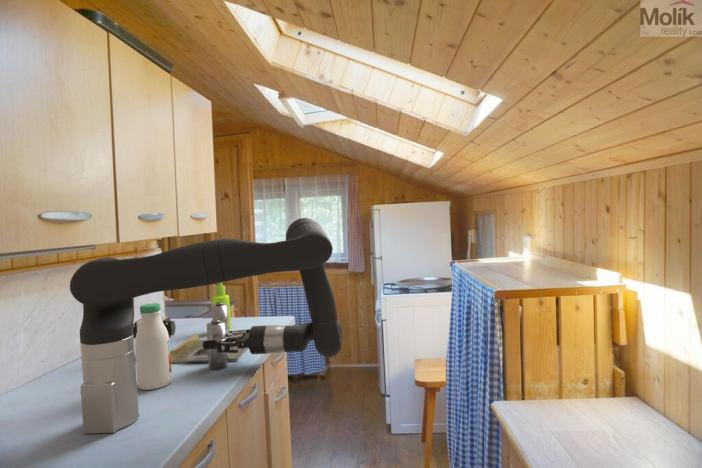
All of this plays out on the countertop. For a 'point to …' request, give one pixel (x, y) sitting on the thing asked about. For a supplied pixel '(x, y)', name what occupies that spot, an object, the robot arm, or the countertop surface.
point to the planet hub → (216, 358)
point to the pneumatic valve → (166, 321)
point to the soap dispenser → (222, 300)
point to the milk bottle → (152, 350)
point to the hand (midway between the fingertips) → (207, 341)
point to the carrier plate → (194, 346)
